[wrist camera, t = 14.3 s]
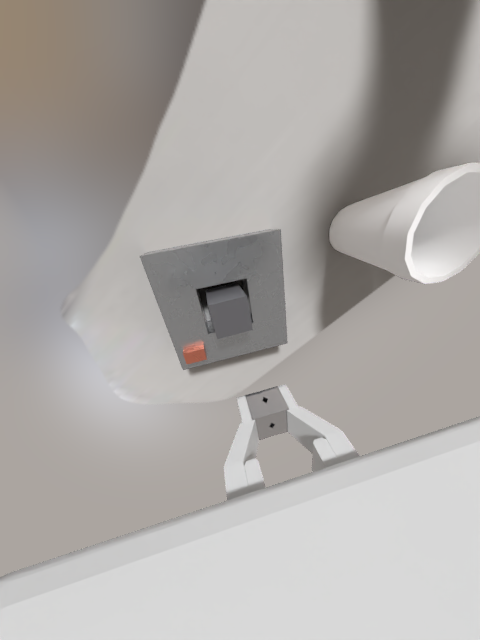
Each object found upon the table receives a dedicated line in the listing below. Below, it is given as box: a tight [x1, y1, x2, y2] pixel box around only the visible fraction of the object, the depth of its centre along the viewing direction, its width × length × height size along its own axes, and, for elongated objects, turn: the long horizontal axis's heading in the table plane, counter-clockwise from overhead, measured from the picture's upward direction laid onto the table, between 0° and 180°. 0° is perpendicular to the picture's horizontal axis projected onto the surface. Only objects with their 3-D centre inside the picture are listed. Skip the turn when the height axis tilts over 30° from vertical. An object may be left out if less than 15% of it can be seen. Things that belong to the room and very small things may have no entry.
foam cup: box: [329, 163, 480, 284], centre depth 22 cm, size 10×9×13 cm
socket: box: [140, 229, 287, 370], centre depth 26 cm, size 16×16×5 cm
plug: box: [206, 283, 253, 339], centre depth 25 cm, size 4×4×8 cm
